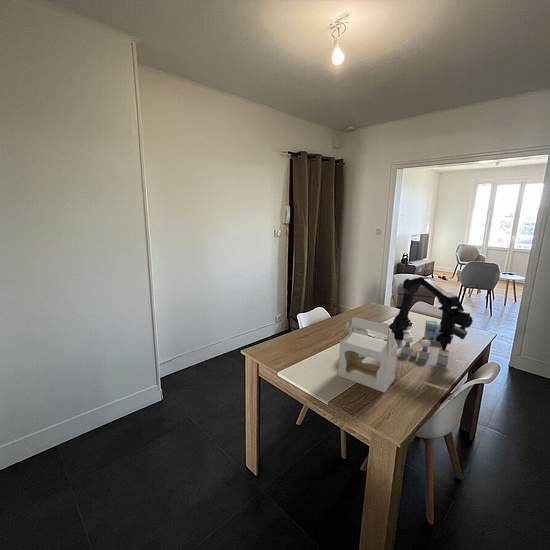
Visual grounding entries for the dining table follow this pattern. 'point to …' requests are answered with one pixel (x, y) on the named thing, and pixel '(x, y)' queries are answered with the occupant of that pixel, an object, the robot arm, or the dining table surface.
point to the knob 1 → (408, 340)
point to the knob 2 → (443, 352)
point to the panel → (426, 357)
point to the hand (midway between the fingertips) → (443, 350)
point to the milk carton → (362, 332)
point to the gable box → (368, 355)
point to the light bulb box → (432, 330)
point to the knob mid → (425, 344)
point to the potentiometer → (413, 354)
